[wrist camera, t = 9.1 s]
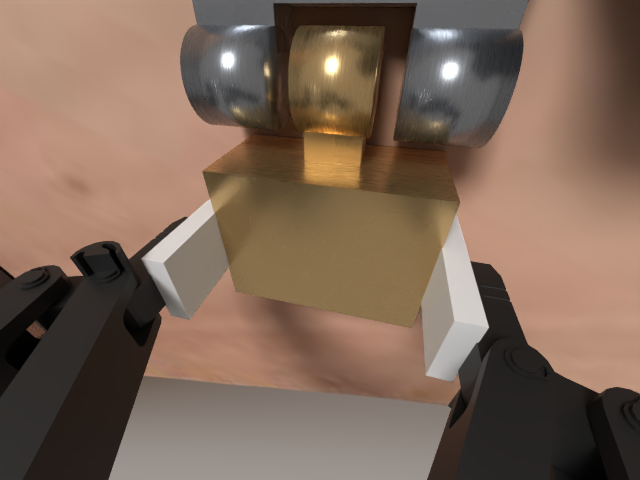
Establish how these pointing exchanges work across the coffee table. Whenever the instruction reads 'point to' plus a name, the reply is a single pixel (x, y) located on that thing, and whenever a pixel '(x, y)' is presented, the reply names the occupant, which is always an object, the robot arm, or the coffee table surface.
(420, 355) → the coffee table surface
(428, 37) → the steel hinge leaf
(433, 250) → the gold knuckled block
